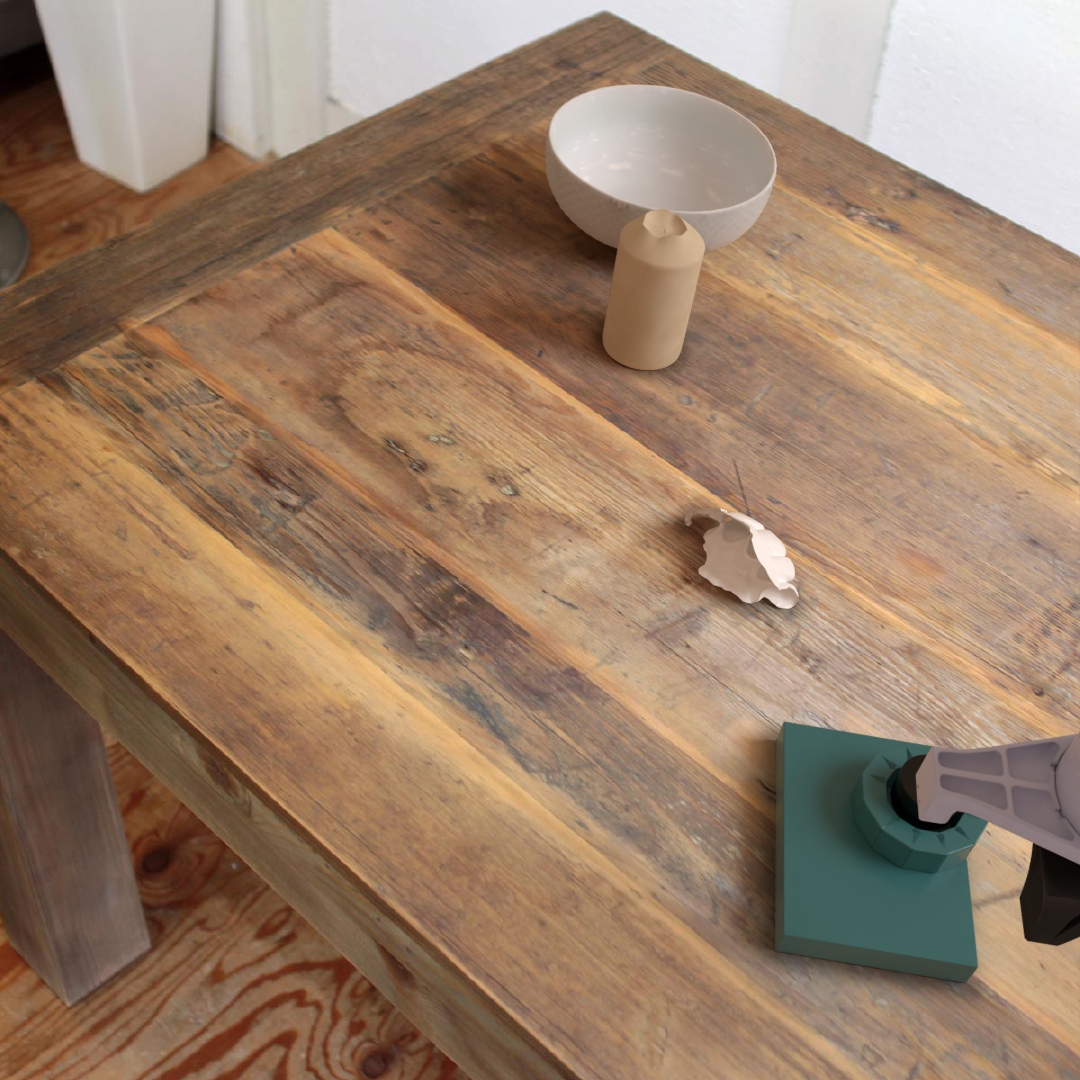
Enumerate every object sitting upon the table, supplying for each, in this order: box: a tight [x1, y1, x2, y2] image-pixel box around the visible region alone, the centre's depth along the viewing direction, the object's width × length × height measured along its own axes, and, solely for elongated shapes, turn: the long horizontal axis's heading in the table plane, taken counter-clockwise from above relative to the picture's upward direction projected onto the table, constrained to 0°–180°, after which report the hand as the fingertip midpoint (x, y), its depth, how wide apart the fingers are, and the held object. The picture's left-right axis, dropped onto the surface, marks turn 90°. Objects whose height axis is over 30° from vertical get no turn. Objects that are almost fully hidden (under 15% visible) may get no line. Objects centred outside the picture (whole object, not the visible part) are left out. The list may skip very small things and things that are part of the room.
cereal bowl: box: [544, 83, 778, 255], centre depth 99 cm, size 17×17×7 cm
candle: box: [602, 209, 705, 371], centre depth 88 cm, size 6×6×10 cm
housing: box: [774, 721, 989, 984], centre depth 65 cm, size 12×10×4 cm
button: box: [890, 754, 958, 830], centre depth 64 cm, size 3×3×2 cm
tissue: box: [681, 507, 800, 610], centre depth 77 cm, size 6×8×4 cm
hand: (1038, 920), depth 54 cm, fingers closed
